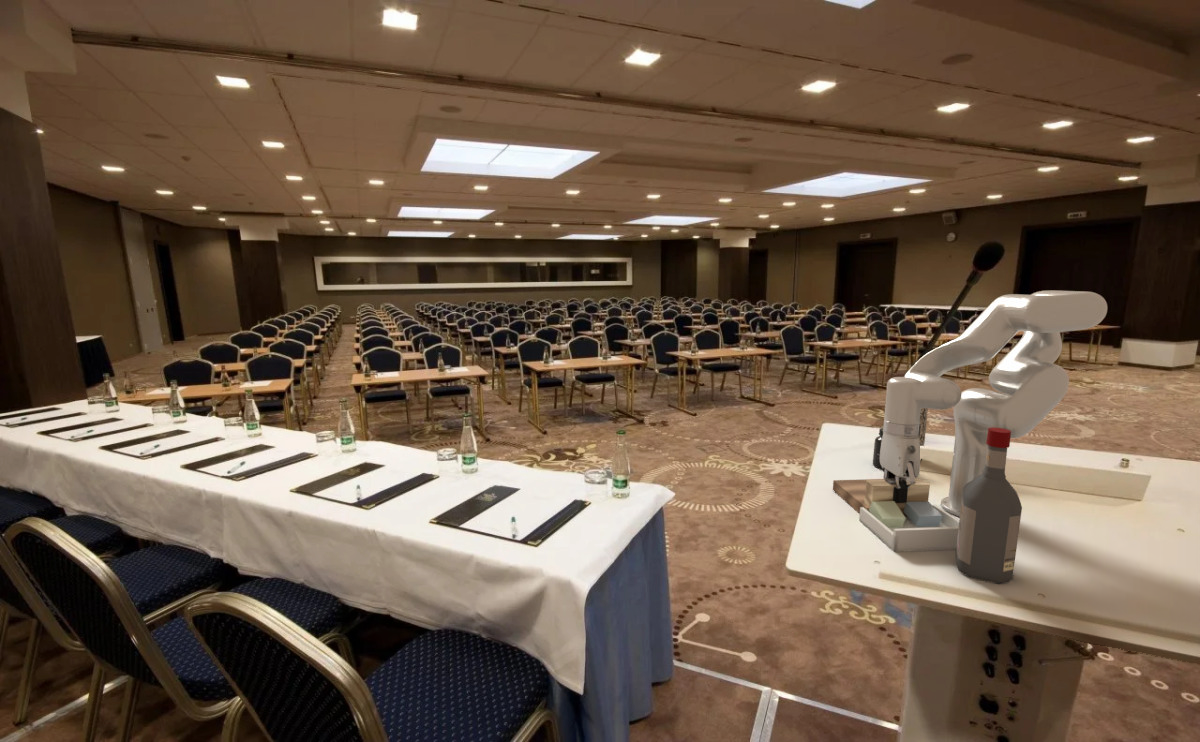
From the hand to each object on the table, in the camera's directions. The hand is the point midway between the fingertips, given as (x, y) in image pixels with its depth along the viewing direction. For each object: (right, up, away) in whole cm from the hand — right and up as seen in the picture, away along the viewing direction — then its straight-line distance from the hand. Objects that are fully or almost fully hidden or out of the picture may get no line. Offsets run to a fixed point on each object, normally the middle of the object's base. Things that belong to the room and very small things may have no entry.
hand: (894, 498), depth 134 cm
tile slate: (+5, -4, -3) cm, 7 cm away
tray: (0, -6, -8) cm, 10 cm away
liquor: (+5, -9, -24) cm, 26 cm away
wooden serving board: (0, -3, +9) cm, 9 cm away
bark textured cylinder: (+28, +3, +41) cm, 50 cm away
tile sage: (-4, -4, -4) cm, 7 cm away
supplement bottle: (+16, +2, +35) cm, 38 cm away
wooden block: (0, -2, 0) cm, 2 cm away
